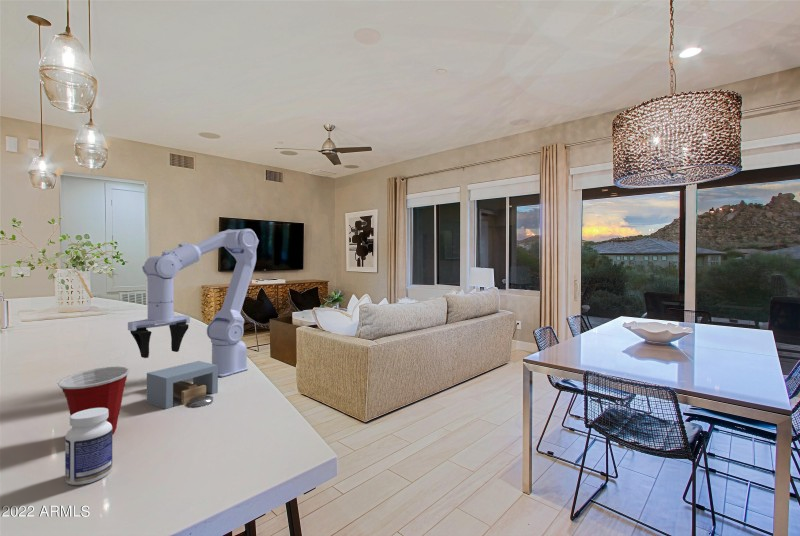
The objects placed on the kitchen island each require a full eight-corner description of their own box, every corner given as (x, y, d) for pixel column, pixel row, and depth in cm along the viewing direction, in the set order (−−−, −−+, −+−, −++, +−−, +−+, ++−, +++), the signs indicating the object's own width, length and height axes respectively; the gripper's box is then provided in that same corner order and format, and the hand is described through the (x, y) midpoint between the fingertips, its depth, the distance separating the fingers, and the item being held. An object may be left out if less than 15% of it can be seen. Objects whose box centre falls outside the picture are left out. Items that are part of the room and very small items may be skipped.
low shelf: (198, 387, 102) (198, 360, 102) (217, 392, 98) (217, 365, 98) (146, 402, 90) (146, 372, 90) (166, 408, 87) (166, 378, 86)
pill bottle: (121, 466, 62) (121, 406, 62) (91, 487, 57) (92, 420, 56) (87, 465, 62) (87, 405, 62) (54, 486, 57) (54, 419, 57)
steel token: (205, 398, 94) (205, 394, 94) (217, 403, 91) (217, 398, 91) (185, 404, 90) (185, 399, 90) (196, 409, 87) (196, 404, 87)
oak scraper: (163, 385, 103) (164, 372, 103) (206, 397, 94) (206, 383, 94) (141, 391, 98) (141, 377, 98) (183, 404, 89) (184, 390, 89)
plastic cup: (45, 441, 71) (45, 376, 70) (112, 420, 80) (112, 363, 80) (74, 455, 66) (74, 386, 65) (141, 431, 75) (141, 370, 75)
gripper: (179, 298, 107) (179, 347, 107) (121, 303, 94) (121, 358, 94) (194, 300, 104) (194, 350, 104) (136, 305, 91) (136, 362, 91)
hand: (160, 354), depth 99 cm, fingers open, 7 cm apart
